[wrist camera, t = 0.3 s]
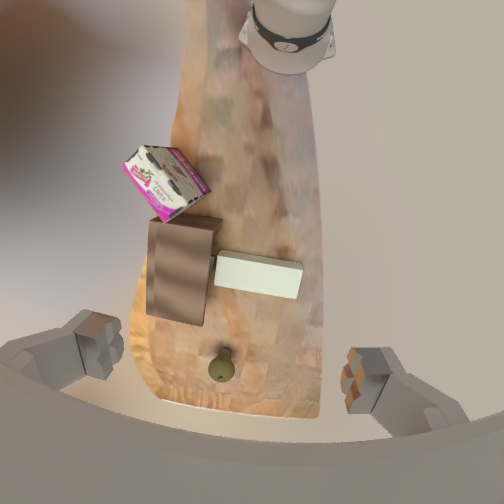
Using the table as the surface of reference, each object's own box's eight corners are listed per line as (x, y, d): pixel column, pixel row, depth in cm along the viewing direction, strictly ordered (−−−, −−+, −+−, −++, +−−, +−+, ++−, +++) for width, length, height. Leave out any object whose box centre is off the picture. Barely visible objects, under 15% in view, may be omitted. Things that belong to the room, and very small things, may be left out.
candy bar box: (158, 164, 53) (118, 165, 37) (177, 147, 52) (142, 142, 36) (192, 207, 55) (163, 225, 39) (212, 191, 54) (189, 203, 38)
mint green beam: (221, 249, 57) (217, 255, 53) (301, 263, 57) (303, 270, 53) (217, 277, 59) (213, 285, 55) (294, 290, 59) (296, 299, 55)
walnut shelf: (168, 210, 55) (149, 220, 46) (222, 219, 55) (212, 231, 46) (163, 292, 61) (146, 314, 51) (211, 302, 61) (202, 326, 51)
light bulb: (221, 336, 63) (213, 364, 54) (242, 348, 64) (238, 376, 54) (210, 352, 65) (201, 380, 55) (230, 363, 65) (225, 391, 56)
